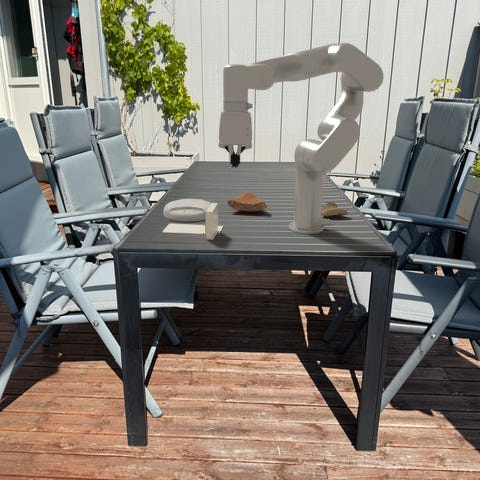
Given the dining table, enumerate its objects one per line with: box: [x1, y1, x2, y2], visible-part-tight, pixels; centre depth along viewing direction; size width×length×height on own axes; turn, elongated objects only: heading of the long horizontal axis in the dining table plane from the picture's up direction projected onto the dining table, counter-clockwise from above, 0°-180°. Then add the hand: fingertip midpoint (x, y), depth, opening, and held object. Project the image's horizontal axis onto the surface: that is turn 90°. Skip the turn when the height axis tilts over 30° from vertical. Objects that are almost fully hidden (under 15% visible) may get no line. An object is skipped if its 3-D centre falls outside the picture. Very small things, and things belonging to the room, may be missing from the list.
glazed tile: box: [204, 202, 219, 241], centre depth 155 cm, size 2×10×10 cm, turn 172°
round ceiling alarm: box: [162, 198, 211, 223], centre depth 181 cm, size 25×25×6 cm
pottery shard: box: [321, 202, 349, 217], centre depth 181 cm, size 11×4×10 cm
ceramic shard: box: [227, 190, 268, 212], centre depth 187 cm, size 15×6×15 cm
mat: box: [162, 223, 224, 235], centre depth 158 cm, size 20×20×1 cm
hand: (235, 166), depth 147 cm, fingers closed
